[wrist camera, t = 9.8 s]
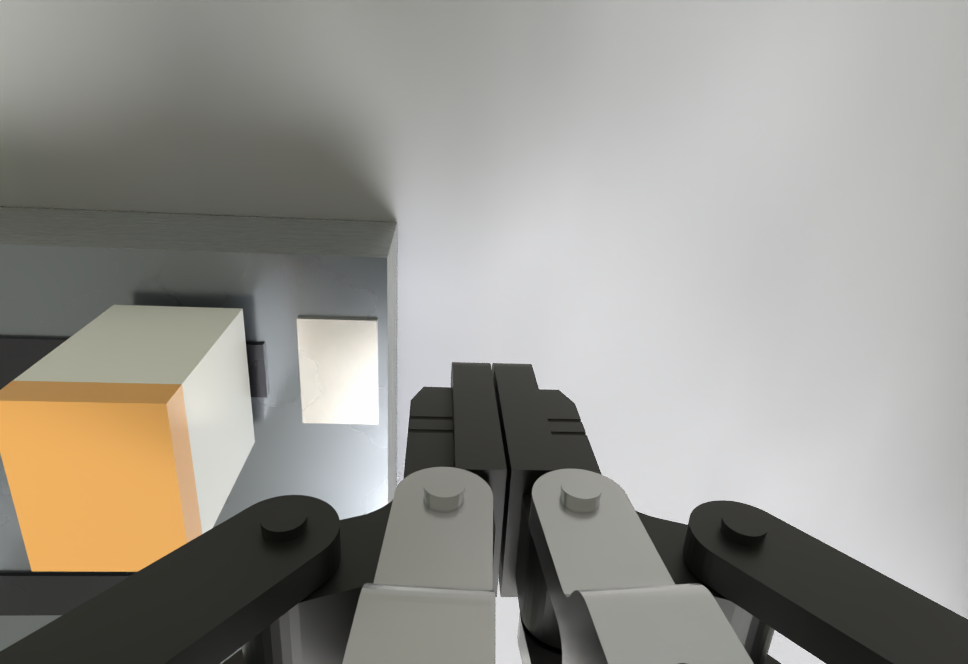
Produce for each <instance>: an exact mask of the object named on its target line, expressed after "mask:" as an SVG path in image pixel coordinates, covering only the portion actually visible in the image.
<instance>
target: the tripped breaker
mask: <svg viewBox="0 0 968 664" xmlns="http://www.w3.org/2000/svg"><path fill="white" fill-rule="evenodd" d="M254 443H255V437H254V426H253V415H252V405H251V394H250V383H249V372H248V361H247V351H246V340H245V329H244V318H243V309H242V308H208V307H174V306H140V305H113V306H111V307H110V308H109V309H107V310H106V311H105V312H103V313H102V314H101V315H99V316H98V317H97V318H95V319H94V320H93V321H91V322H90V323H89V324H87V325H86V326H85V327H83V328H82V329H81V330H79V331H78V332H77V333H75V334H74V335H73V336H71V337H70V338H69V339H67V340H66V341H65V342H63V343H62V344H61V345H59V346H58V347H57V348H55V349H54V350H53V351H51V352H50V353H49V354H47V355H46V356H45V357H43V358H42V359H41V360H39V361H38V362H37V363H35V364H34V365H33V366H31V367H30V368H29V369H27V370H26V371H25V372H23V373H22V374H21V375H19V376H18V377H17V378H15V379H14V380H13V381H11V382H10V383H9V384H7V385H6V386H5V387H3V388H2V389H1V390H0V454H1V457H2V461H3V465H4V469H5V473H6V476H7V480H8V484H9V488H10V491H11V495H12V499H13V503H14V506H15V510H16V514H17V518H18V521H19V525H20V529H21V533H22V537H23V540H24V544H25V548H26V552H27V555H28V559H29V563H30V567H31V570H32V571H69V572H138V571H140V570H141V569H143V568H145V567H147V566H148V565H150V564H152V563H153V562H155V561H157V560H159V559H160V558H162V557H164V556H166V555H167V554H169V553H171V552H172V551H174V550H176V549H178V548H179V547H181V546H183V545H184V544H186V543H188V542H190V541H191V540H193V539H195V538H197V537H198V536H200V535H202V534H203V533H205V532H207V531H209V530H210V529H212V528H213V526H214V524H215V522H216V520H217V518H218V516H219V514H220V512H221V510H222V508H223V506H224V504H225V502H226V500H227V498H228V496H229V494H230V492H231V490H232V488H233V486H234V484H235V482H236V479H237V477H238V475H239V473H240V471H241V469H242V467H243V465H244V463H245V461H246V459H247V457H248V455H249V453H250V451H251V449H252V447H253V445H254Z"/></svg>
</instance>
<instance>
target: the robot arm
mask: <svg viewBox="0 0 968 664" xmlns="http://www.w3.org/2000/svg"><path fill="white" fill-rule="evenodd" d="M498 575H499V584H500V593H501V597H518V600H519V607H520V616H519V626H518V636H517V639H518V646H519V650H520V655H521V659H522V664H781V663H780V662H778V661H777V660H775V659H774V658H772V657H771V656H769V655H768V654H767V653H768V650H769V647H770V643H771V640H772V636H773V633H774V630H776V631H777V632H779V633H781V634H782V635H784V636H785V637H787V638H788V639H790V640H791V641H793V642H794V643H796V644H797V645H799V646H800V647H802V648H803V649H805V650H806V651H808V652H810V653H811V654H813V655H814V656H816V657H817V658H819V659H820V660H822V661H823V662H825V663H826V664H968V619H966V618H964V617H962V616H960V615H958V614H956V613H955V612H953V611H951V610H949V609H947V608H945V607H943V606H941V605H940V604H938V603H936V602H934V601H932V600H930V599H928V598H926V597H925V596H923V595H921V594H919V593H917V592H915V591H913V590H911V589H910V588H908V587H906V586H904V585H902V584H900V583H898V582H896V581H895V580H893V579H891V578H889V577H887V576H885V575H883V574H881V573H880V572H878V571H876V570H874V569H872V568H870V567H868V566H866V565H865V564H863V563H861V562H859V561H857V560H855V559H853V558H851V557H850V556H848V555H846V554H844V553H842V552H840V551H838V550H836V549H835V548H833V547H831V546H829V545H827V544H825V543H823V542H821V541H820V540H818V539H816V538H814V537H812V536H810V535H808V534H806V533H804V532H803V531H801V530H799V529H797V528H795V527H793V526H791V525H789V524H788V523H786V522H784V521H782V520H780V519H778V518H776V517H774V516H773V515H771V514H769V513H767V512H765V511H763V510H761V509H759V508H756V507H753V506H750V505H747V504H743V503H739V502H734V501H711V502H707V503H703V504H701V505H699V506H697V507H696V508H695V509H694V510H693V511H692V513H691V515H690V519H689V523H688V525H686V524H681V523H677V522H672V521H668V520H663V519H659V518H655V517H651V516H648V515H645V514H642V513H639V512H637V511H635V509H634V507H633V505H632V504H631V502H630V500H629V498H628V496H627V494H626V493H625V491H624V490H623V489H622V488H621V487H620V486H619V485H618V484H617V483H615V482H614V481H613V480H611V479H609V478H608V477H606V476H603V475H602V474H601V472H600V469H599V466H598V464H597V461H596V459H595V456H594V453H593V451H592V448H591V445H590V443H589V440H588V437H587V435H585V430H584V427H583V424H582V422H581V419H580V416H579V414H578V411H577V408H576V406H575V404H574V403H573V402H572V401H571V400H570V399H569V398H567V397H566V396H565V395H564V394H563V393H562V392H560V391H559V390H539V389H538V385H537V382H536V378H535V375H534V371H533V368H532V365H531V364H502V363H493V365H492V370H491V364H490V363H459V362H452V371H451V388H443V387H423V388H422V389H421V390H420V391H419V392H418V393H417V395H416V396H415V397H414V398H413V399H412V400H411V405H410V417H409V427H408V438H407V448H406V459H405V470H404V479H403V480H402V481H401V482H400V483H399V485H398V486H397V488H396V490H395V493H394V498H393V500H392V501H391V502H390V503H388V504H387V505H385V506H384V507H382V508H380V509H378V510H376V511H373V512H370V513H368V514H364V515H360V516H356V517H351V518H347V519H342V520H339V516H338V514H337V512H336V510H335V509H334V508H333V507H332V506H331V505H329V504H328V503H327V502H325V501H323V500H321V499H318V498H315V497H311V496H305V495H283V496H277V497H273V498H269V499H266V500H263V501H260V502H258V503H256V504H254V505H252V506H250V507H248V508H247V509H245V510H243V511H241V512H240V513H238V514H236V515H234V516H233V517H231V518H229V519H228V520H226V521H224V522H222V523H221V524H219V525H217V526H215V527H214V528H212V529H210V530H209V531H207V532H205V533H203V534H202V535H200V536H198V537H197V538H195V539H193V540H191V541H190V542H188V543H186V544H184V545H183V546H181V547H179V548H178V549H176V550H174V551H172V552H171V553H169V554H167V555H166V556H164V557H162V558H160V559H159V560H157V561H155V562H153V563H152V564H150V565H148V566H147V567H145V568H143V569H141V570H140V571H138V572H136V573H135V574H133V575H131V576H129V577H128V578H126V579H124V580H122V581H121V582H119V583H117V584H116V585H114V586H112V587H110V588H109V589H107V590H105V591H104V592H102V593H100V594H98V595H97V596H95V597H93V598H91V599H90V600H88V601H86V602H85V603H83V604H81V605H79V606H78V607H76V608H74V609H73V610H71V611H69V612H67V613H66V614H64V615H62V616H60V617H59V618H57V619H55V620H54V621H52V622H50V623H48V624H47V625H45V626H43V627H41V628H40V629H38V630H36V631H35V632H33V633H31V634H29V635H28V636H26V637H24V638H23V639H21V640H19V641H17V642H16V643H14V644H12V645H10V646H9V647H7V648H5V649H4V650H2V651H0V664H220V663H221V662H222V661H224V660H225V659H226V658H227V657H229V656H230V655H231V654H233V653H234V652H235V651H237V650H238V649H239V648H241V647H242V649H240V650H239V651H238V652H236V653H235V654H234V655H233V656H231V657H230V658H229V659H227V660H226V661H225V662H223V663H222V664H495V597H497V585H498Z"/></svg>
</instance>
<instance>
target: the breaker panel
mask: <svg viewBox="0 0 968 664" xmlns="http://www.w3.org/2000/svg"><path fill="white" fill-rule="evenodd" d="M113 305H140V306H174V307H208V308H242V309H243V318H244V329H245V340H246V351H247V361H248V372H249V383H250V394H251V405H252V415H253V426H254V437H255V443H254V445H253V447H252V449H251V451H250V453H249V455H248V457H247V459H246V461H245V463H244V465H243V467H242V469H241V471H240V473H239V475H238V477H237V479H236V482H235V484H234V486H233V488H232V490H231V492H230V494H229V496H228V498H227V500H226V502H225V504H224V506H223V508H222V510H221V512H220V514H219V516H218V518H217V520H216V522H215V524H214V526H213V528H214V527H215V526H217V525H219V524H221V523H222V522H224V521H226V520H228V519H229V518H231V517H233V516H234V515H236V514H238V513H240V512H241V511H243V510H245V509H247V508H248V507H250V506H252V505H254V504H256V503H258V502H260V501H263V500H266V499H269V498H273V497H277V496H283V495H305V496H311V497H315V498H318V499H321V500H323V501H325V502H327V503H328V504H329V505H331V506H332V507H333V508H334V509H335V510H336V512H337V514H338V516H339V520H342V519H347V518H351V517H356V516H360V515H364V514H368V513H370V512H373V511H376V510H378V509H380V508H382V507H384V506H385V505H387V504H388V503H390V502H391V501H392V500H393V498H394V493H395V490H396V488H397V222H374V221H349V220H323V219H298V218H273V217H247V216H222V215H196V214H171V213H145V212H120V211H95V210H69V209H44V208H18V207H0V390H1V389H2V388H3V387H5V386H6V385H7V384H9V383H10V382H11V381H13V380H14V379H15V378H17V377H18V376H19V375H21V374H22V373H23V372H25V371H26V370H27V369H29V368H30V367H31V366H33V365H34V364H35V363H37V362H38V361H39V360H41V359H42V358H43V357H45V356H46V355H47V354H49V353H50V352H51V351H53V350H54V349H55V348H57V347H58V346H59V345H61V344H62V343H63V342H65V341H66V340H67V339H69V338H70V337H71V336H73V335H74V334H75V333H77V332H78V331H79V330H81V329H82V328H83V327H85V326H86V325H87V324H89V323H90V322H91V321H93V320H94V319H95V318H97V317H98V316H99V315H101V314H102V313H103V312H105V311H106V310H107V309H109V308H110V307H111V306H113ZM135 573H136V572H69V571H32V570H31V567H30V563H29V559H28V555H27V552H26V548H25V544H24V540H23V537H22V533H21V529H20V525H19V521H18V518H17V514H16V510H15V506H14V503H13V499H12V495H11V491H10V488H9V484H8V480H7V476H6V473H5V469H4V465H3V461H2V457H1V454H0V651H2V650H4V649H5V648H7V647H9V646H10V645H12V644H14V643H16V642H17V641H19V640H21V639H23V638H24V637H26V636H28V635H29V634H31V633H33V632H35V631H36V630H38V629H40V628H41V627H43V626H45V625H47V624H48V623H50V622H52V621H54V620H55V619H57V618H59V617H60V616H62V615H64V614H66V613H67V612H69V611H71V610H73V609H74V608H76V607H78V606H79V605H81V604H83V603H85V602H86V601H88V600H90V599H91V598H93V597H95V596H97V595H98V594H100V593H102V592H104V591H105V590H107V589H109V588H110V587H112V586H114V585H116V584H117V583H119V582H121V581H122V580H124V579H126V578H128V577H129V576H131V575H133V574H135ZM240 649H242V647H241V648H239V649H238V650H237V651H235V652H234V653H233V654H231V655H230V656H229V657H227V658H226V659H225V660H224V661H222V662H221V663H220V664H222V663H223V662H225V661H226V660H227V659H229V658H230V657H231V656H233V655H234V654H235V653H236V652H238V651H239V650H240Z"/></svg>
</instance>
